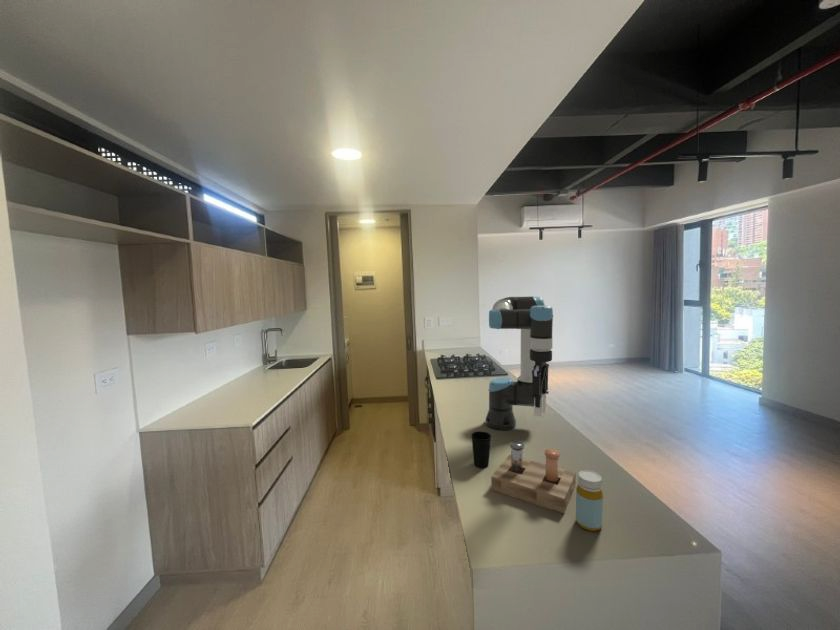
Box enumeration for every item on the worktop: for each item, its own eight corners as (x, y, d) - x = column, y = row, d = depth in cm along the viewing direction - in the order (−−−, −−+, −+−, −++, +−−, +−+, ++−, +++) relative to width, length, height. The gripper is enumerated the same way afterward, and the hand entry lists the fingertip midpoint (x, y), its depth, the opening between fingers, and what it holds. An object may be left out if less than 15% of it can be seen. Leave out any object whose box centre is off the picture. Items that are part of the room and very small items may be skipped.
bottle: (594, 516, 108) (595, 469, 106) (606, 532, 101) (608, 482, 99) (571, 516, 108) (572, 470, 106) (582, 533, 101) (584, 483, 99)
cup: (476, 471, 135) (476, 440, 134) (468, 461, 142) (468, 432, 141) (494, 467, 137) (494, 438, 136) (485, 458, 144) (485, 430, 143)
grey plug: (512, 463, 129) (512, 439, 128) (525, 466, 126) (525, 442, 126) (508, 469, 125) (508, 444, 124) (521, 473, 122) (521, 448, 122)
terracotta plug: (546, 472, 122) (546, 447, 122) (560, 476, 120) (561, 451, 119) (542, 479, 118) (542, 453, 118) (557, 483, 116) (558, 457, 115)
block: (509, 467, 137) (509, 454, 137) (575, 485, 124) (575, 472, 123) (491, 489, 122) (491, 476, 122) (564, 514, 109) (564, 498, 108)
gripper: (536, 344, 134) (536, 404, 136) (522, 352, 119) (522, 419, 122) (557, 346, 129) (556, 408, 132) (545, 354, 115) (544, 423, 117)
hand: (540, 413), depth 127 cm, fingers open, 4 cm apart
